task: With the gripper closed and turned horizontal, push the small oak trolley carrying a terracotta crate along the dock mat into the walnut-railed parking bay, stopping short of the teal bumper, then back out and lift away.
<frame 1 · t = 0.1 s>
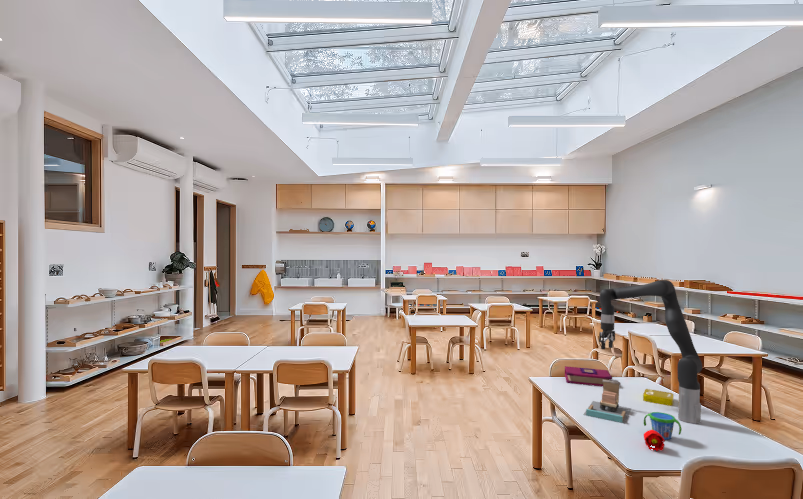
hand: (606, 348, 271), 29 cm above the table, tool pointing down, fingers open, 8 cm apart
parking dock: (606, 415, 239), on the table
snack cup: (661, 437, 212), on the table
book: (587, 381, 304), on the table
flower: (652, 448, 200), on the table
trolley: (609, 408, 248), resting on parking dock
element tile: (658, 401, 267), on the table
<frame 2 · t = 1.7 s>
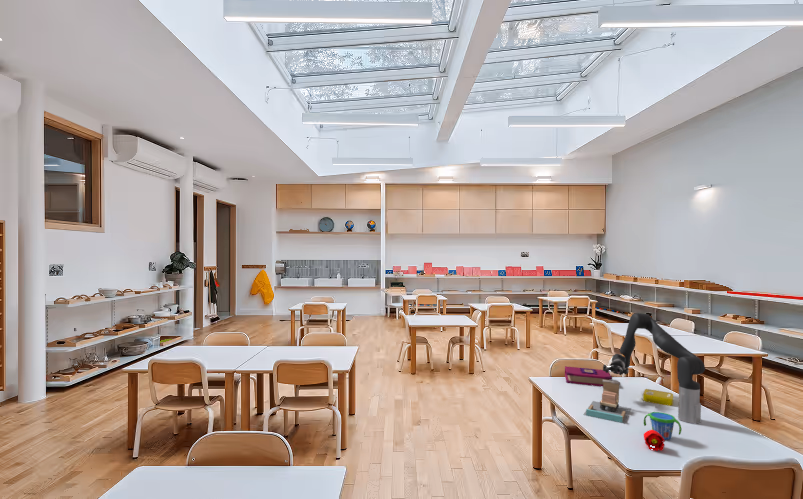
hand: (613, 372, 258), 18 cm above the table, tool horizontal, fingers open, 6 cm apart
nothing on the table moved.
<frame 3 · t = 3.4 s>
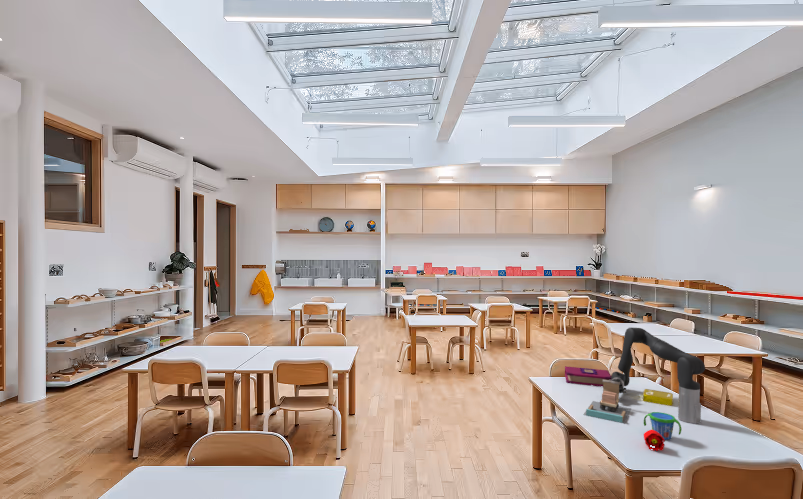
hand: (612, 392, 257), 7 cm above the table, tool horizontal, fingers closed
nothing on the table moved.
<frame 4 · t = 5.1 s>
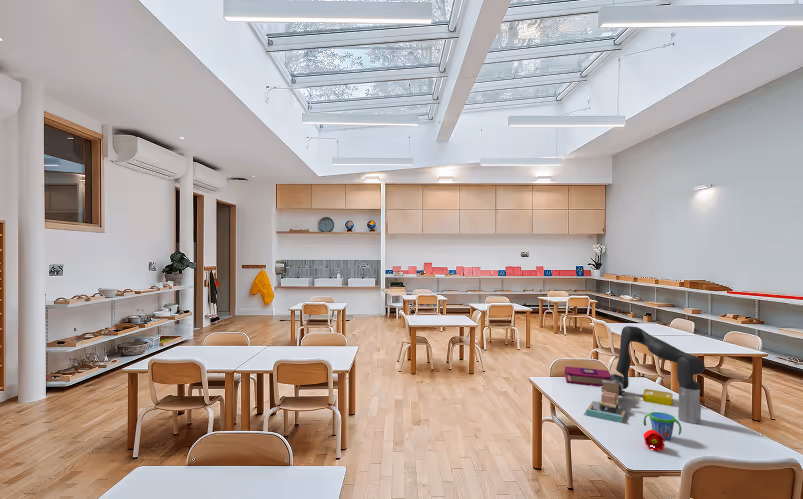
hand: (610, 395, 251), 7 cm above the table, tool horizontal, fingers closed
trolley: (608, 409, 247), point 1 cm above the table
everything else where it was.
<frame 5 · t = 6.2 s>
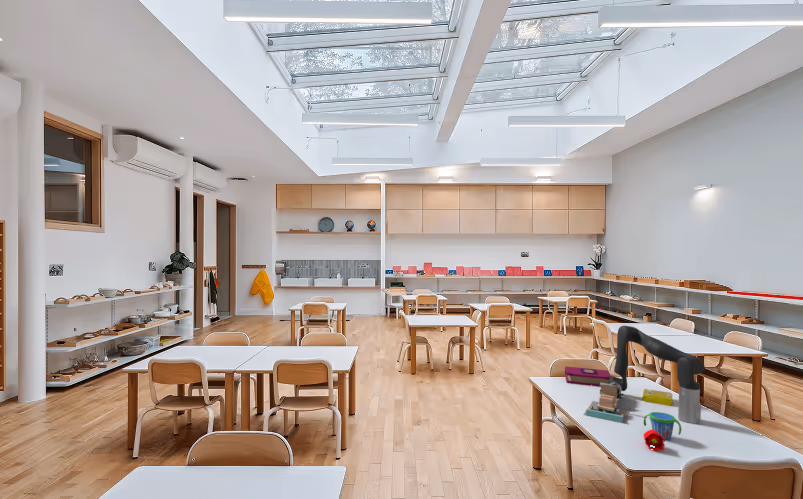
hand: (609, 397, 246), 7 cm above the table, tool horizontal, fingers closed
trolley: (606, 412, 241), point 1 cm above the table, touching gripper, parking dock
everything else where it was.
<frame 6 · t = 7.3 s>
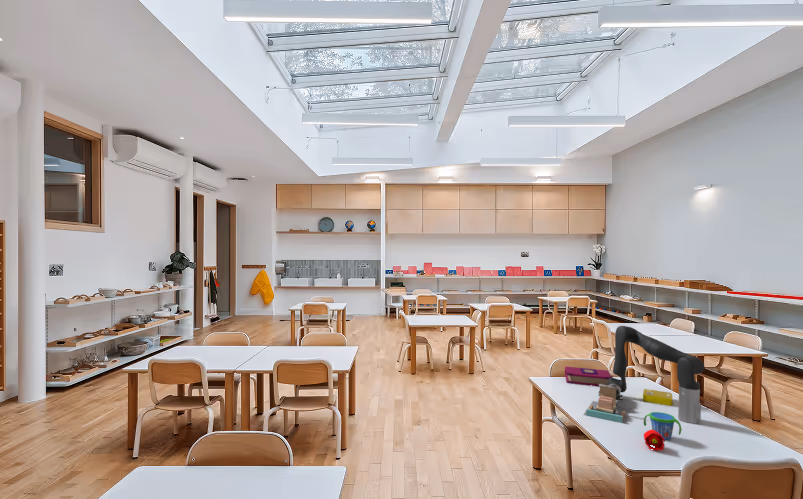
hand: (608, 399, 243), 7 cm above the table, tool horizontal, fingers closed
trolley: (605, 414, 239), resting on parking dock, touching gripper
everything else where it was.
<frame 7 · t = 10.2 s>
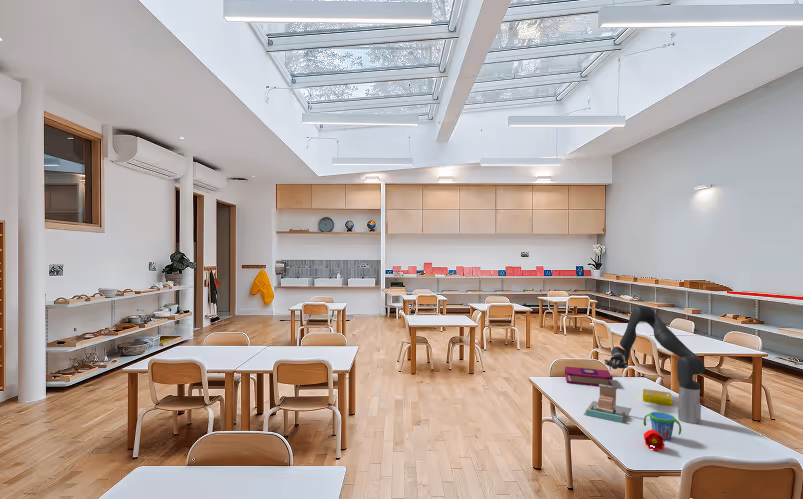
hand: (614, 367, 256), 22 cm above the table, tool horizontal, fingers closed
trolley: (605, 414, 239), resting on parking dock
everything else where it was.
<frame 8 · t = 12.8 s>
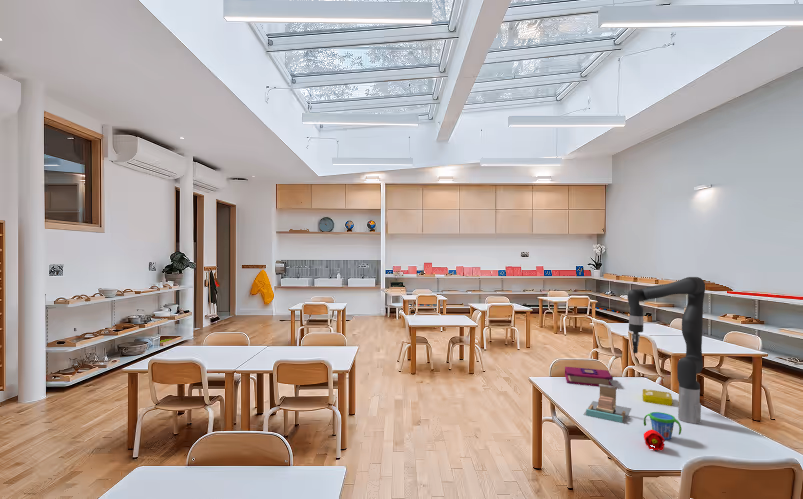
hand: (635, 352, 261), 29 cm above the table, tool pointing down, fingers closed
at the end: trolley 0.2 cm from the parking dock (horizontally); trolley tilted 0°; the gripper is holding nothing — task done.
